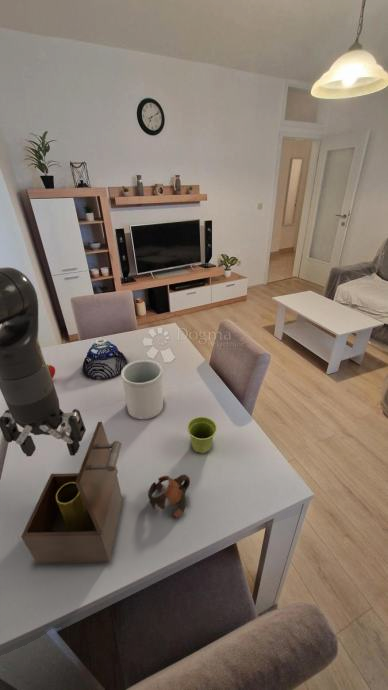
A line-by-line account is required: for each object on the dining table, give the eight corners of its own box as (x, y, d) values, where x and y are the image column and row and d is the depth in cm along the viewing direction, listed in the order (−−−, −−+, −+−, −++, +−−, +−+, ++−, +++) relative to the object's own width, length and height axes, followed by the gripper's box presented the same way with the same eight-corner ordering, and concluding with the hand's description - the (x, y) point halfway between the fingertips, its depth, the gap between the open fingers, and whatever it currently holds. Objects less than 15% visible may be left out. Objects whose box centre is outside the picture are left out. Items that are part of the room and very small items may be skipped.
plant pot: (221, 450, 90) (222, 431, 86) (196, 462, 86) (196, 443, 82) (206, 431, 98) (206, 413, 93) (182, 441, 93) (182, 423, 89)
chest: (36, 563, 63) (20, 536, 57) (62, 500, 76) (51, 473, 70) (109, 561, 64) (100, 535, 58) (122, 499, 76) (116, 472, 70)
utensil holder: (172, 403, 110) (170, 367, 101) (147, 427, 99) (142, 388, 90) (144, 390, 117) (140, 355, 108) (118, 411, 106) (111, 374, 97)
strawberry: (38, 382, 122) (31, 363, 117) (55, 375, 126) (50, 357, 121) (42, 388, 118) (35, 369, 113) (60, 381, 122) (54, 362, 117)
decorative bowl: (92, 355, 141) (87, 330, 134) (131, 356, 140) (127, 331, 133) (76, 379, 124) (69, 351, 116) (120, 380, 123) (116, 352, 116)
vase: (62, 537, 67) (47, 503, 60) (76, 511, 73) (63, 478, 65) (86, 541, 66) (73, 508, 59) (97, 515, 72) (87, 482, 65)
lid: (74, 482, 49) (106, 481, 49) (98, 421, 61) (123, 420, 61) (98, 534, 58) (125, 532, 57) (114, 471, 70) (136, 470, 70)
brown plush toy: (170, 530, 70) (153, 508, 68) (155, 512, 78) (139, 492, 76) (203, 492, 75) (188, 471, 73) (185, 479, 83) (171, 459, 81)
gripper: (78, 375, 51) (94, 437, 59) (0, 376, 50) (26, 438, 58) (62, 403, 44) (82, 468, 52) (-28, 404, 44) (6, 469, 52)
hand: (53, 452), depth 55 cm, fingers open, 8 cm apart
